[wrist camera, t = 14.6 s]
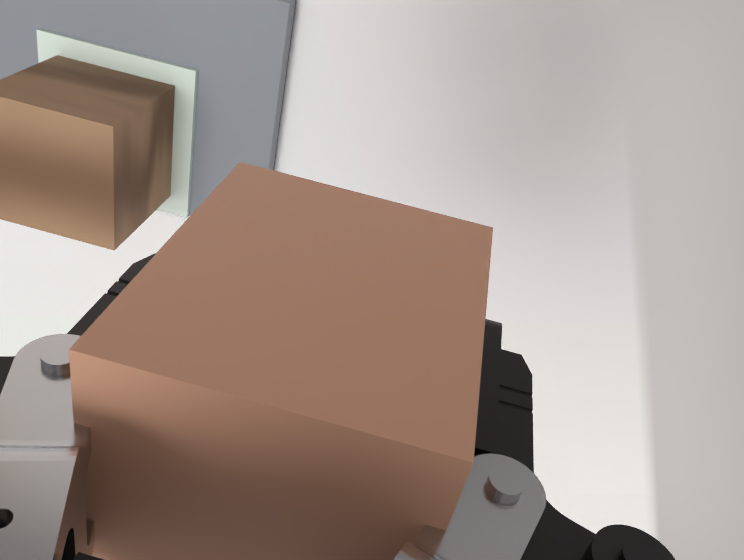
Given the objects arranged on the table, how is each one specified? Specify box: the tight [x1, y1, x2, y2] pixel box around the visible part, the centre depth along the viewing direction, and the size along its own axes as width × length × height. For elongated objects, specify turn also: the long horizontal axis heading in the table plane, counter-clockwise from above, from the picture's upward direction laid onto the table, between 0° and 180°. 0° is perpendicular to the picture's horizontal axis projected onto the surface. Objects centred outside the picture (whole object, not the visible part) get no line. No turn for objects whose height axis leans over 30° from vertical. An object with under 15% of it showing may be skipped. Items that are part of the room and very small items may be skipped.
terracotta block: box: [69, 162, 493, 560], centre depth 12 cm, size 5×5×6 cm
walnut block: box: [0, 55, 175, 250], centre depth 33 cm, size 6×6×6 cm
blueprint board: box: [0, 0, 296, 218], centre depth 35 cm, size 12×18×1 cm, turn 79°
